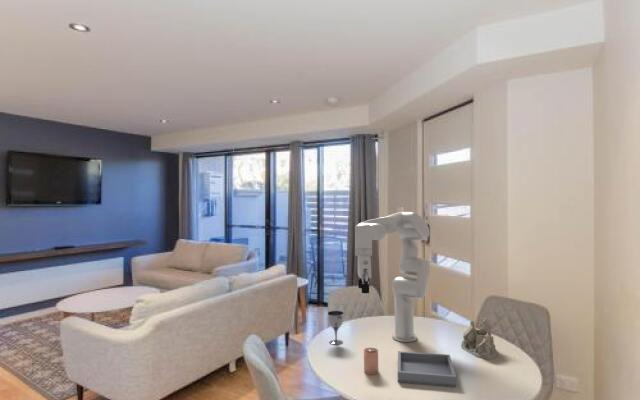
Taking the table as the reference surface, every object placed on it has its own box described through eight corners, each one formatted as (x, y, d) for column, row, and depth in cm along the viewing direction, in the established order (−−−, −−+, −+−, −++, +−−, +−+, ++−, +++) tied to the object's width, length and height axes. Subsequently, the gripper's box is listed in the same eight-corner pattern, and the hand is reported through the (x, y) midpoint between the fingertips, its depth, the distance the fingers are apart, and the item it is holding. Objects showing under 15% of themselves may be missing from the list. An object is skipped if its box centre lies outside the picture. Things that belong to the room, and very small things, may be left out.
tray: (398, 360, 164) (398, 351, 164) (449, 363, 159) (449, 354, 159) (397, 382, 144) (397, 372, 144) (456, 387, 139) (456, 376, 139)
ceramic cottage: (464, 341, 183) (464, 312, 182) (499, 349, 174) (500, 319, 173) (455, 354, 171) (455, 323, 169) (493, 364, 161) (494, 331, 160)
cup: (364, 367, 157) (364, 346, 157) (378, 368, 156) (378, 347, 156) (363, 374, 151) (363, 352, 151) (378, 375, 150) (377, 353, 150)
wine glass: (342, 346, 180) (342, 315, 180) (327, 345, 182) (326, 315, 182) (344, 339, 188) (344, 310, 188) (329, 339, 190) (329, 310, 190)
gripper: (375, 254, 154) (375, 295, 153) (368, 249, 171) (368, 286, 171) (358, 254, 153) (358, 295, 153) (352, 249, 171) (352, 286, 170)
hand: (363, 290), depth 162 cm, fingers open, 9 cm apart
